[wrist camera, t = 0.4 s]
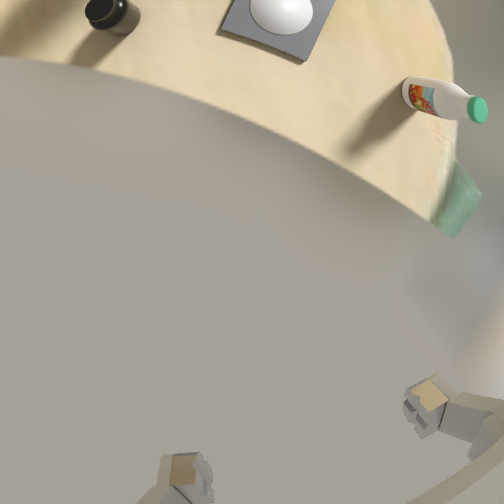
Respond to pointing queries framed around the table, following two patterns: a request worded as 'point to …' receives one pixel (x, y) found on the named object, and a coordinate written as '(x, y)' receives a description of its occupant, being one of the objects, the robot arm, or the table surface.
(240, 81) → the table surface
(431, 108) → the milk bottle
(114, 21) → the supplement bottle
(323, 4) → the charging pad
